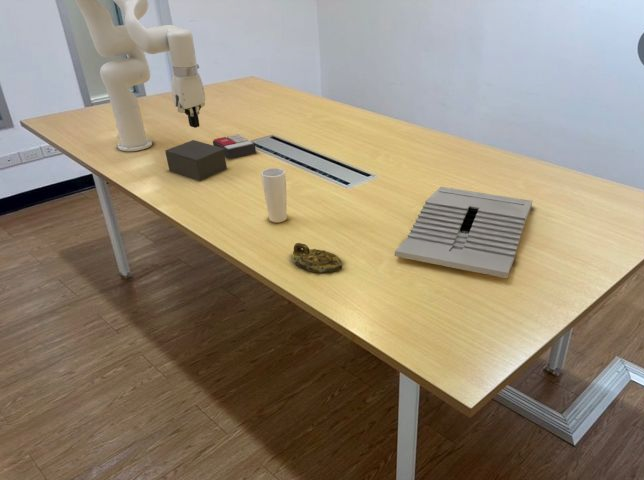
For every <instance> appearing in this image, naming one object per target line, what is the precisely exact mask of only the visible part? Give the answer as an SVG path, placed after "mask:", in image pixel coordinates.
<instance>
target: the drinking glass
mask: <svg viewBox="0 0 644 480" xmlns="http://www.w3.org/2000/svg"><path fill="white" fill-rule="evenodd" d="M260 174H261V186H262V189H263V194H264V195H263V196H264V200H265V205H266V208H267V209H266V210H267V213H268V219H269V221H270V222H271V223H274V224H275V223H276V224H277V223H282V222H285V221H286V220H287V218H288V213H287V211H288V210H287V208H288V207H287V178H286V177H287V176H286V170H285V169H283V168H280V167H269V168H266V169H264V170H262V171H261V173H260Z"/></svg>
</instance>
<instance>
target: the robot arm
mask: <svg viewBox="0 0 644 480" xmlns="http://www.w3.org/2000/svg"><path fill="white" fill-rule="evenodd" d="M73 1H74V3H75V5H76V6H77V7H78V9H79V11H80V13H81V14H82V16H83V18H84V21H85V25H86V27H87V30H88V32H89V35H90V38H91V40H92V44H93V46H94V49H95V50H96V52H97V54H98V55H99V56H100V57H102V58H115V57H119V56H123V55H124V56H126V58H121V59H116V60H111V61H108V62H105V63H104V64H102V66H101V67H100V69H99V76H100V79H101V81H102V84H103V85H104V87H105V90H106V92H107V95H108V99H109V102H110V105H111V109H112V114H113V117H114V121H115V123H116V125H115V126H116V128H117V132H118V134H116V135H115V136H116V138H118V139H119V142H118V143H117V149H118V150H120V151H121V152H138V151H143V150H146V149H149V148H150V147H152V145H153V141H152V140H151V139H150V138H147V133H146V128H145V125H144V121H143V116H142V111H141V108H140V107H141V106H140V104H139V100H138V97H137V96H136V94H134V92H133V91H132V90H131V89H130V88H131V87H134V86H138V85H141V84H142V85H143V84H146V83H147V82H148V81H149V80H150V78H151V70H150V66H149V63H148V60H147V57H146V54H148V55H155V54H156V55H157V54H160V53H167V52H169V54H170V59H171V65H172V71H173V76H171V90H172V101H173V105H174V107H175V108H177V113H179V114H185V115H186V116H187V120H188V125H189V127H191V128H194V129H197V128H200V118H199V115H200V111H201V109H202V108H204V107H205V105H206V103H205V102H206V93H205V89H204V84H203V81H202V78H201V77H202V76H201V74H200V73H199V71H198V69H200V65H199V64H198V63H197V57H196V50H195V44H194V37H193V34H192V31H190V30H189V29H187V28H180V27H179V26H176V25H174V24H165V25H158V26H152V27H145V26H144V25H143V24H142V23H141V22H140V21H139V20H141V18H144V16H145V15H146V13H147V11H148V9H149V0H112V1H113V2H114V3H115V4H116V5H117V7H118V8H119V9H120V10H121V11H122V12H123V13H124V24H122V25H115V24H114V22H113V20H112V16H111V14H110V12H109V10H108V9H107V8H106V7H105V6H104V4H102V3H101V2H100V1H98V0H73Z"/></svg>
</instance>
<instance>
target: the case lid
mask: <svg viewBox="0 0 644 480" xmlns="http://www.w3.org/2000/svg"><path fill="white" fill-rule="evenodd" d="M164 151H165V154H166V153H169V154H172V155H176V156H179V157H183V158H186V159H189V160H193V161H196V162H199V161H201V160H204V159H206V158H209V157H211V156H214V155H216V154H218V153H221V152H223V151H225V148H221V147H217V146H214V145H213V144H209V143H206V142H203V141H198V140H195V139H192V140H190V141H187V142H184V143H181V144H178V145H176V146H173V147H170V148H167V149H165V150H164Z"/></svg>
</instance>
